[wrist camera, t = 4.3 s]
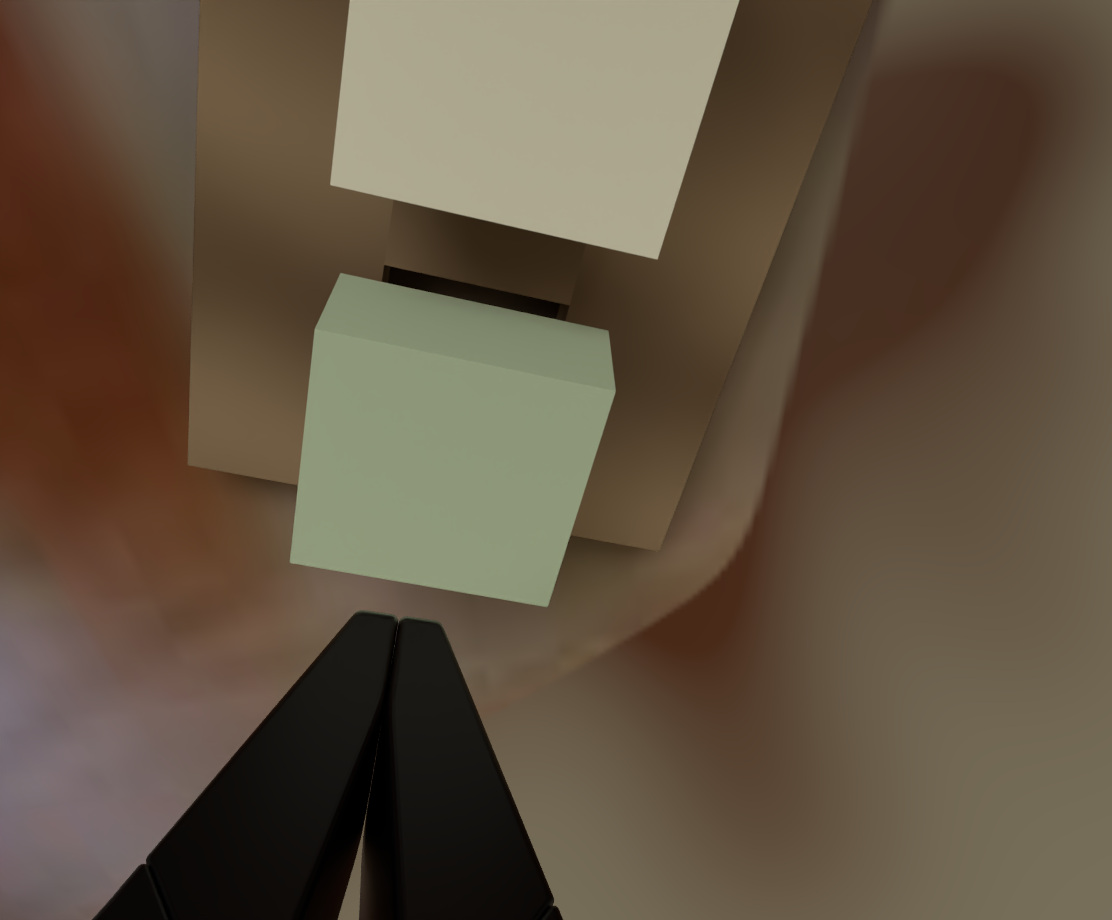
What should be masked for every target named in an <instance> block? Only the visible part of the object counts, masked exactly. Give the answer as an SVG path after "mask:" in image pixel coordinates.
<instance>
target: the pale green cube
mask: <svg viewBox="0 0 1112 920" xmlns="http://www.w3.org/2000/svg"><path fill="white" fill-rule="evenodd" d="M615 392H616V388H615V380H614V372H613V364H612V355H611V347H610V339H609V331H607V330H603V329H598V328H593V327H589V326H584V325H580V324H575V323H570V322H566V321H561V320H556V319H552V318H547V317H542V316H538V315H533V314H528V313H524V312H519V311H515V310H510V309H505V308H501V307H496V306H491V305H487V304H482V303H477V302H473V301H468V300H463V299H459V298H454V297H450V296H445V295H440V294H436V293H431V292H426V291H422V290H417V289H412V288H408V287H403V286H399V285H394V284H389V283H385V282H380V281H375V280H371V279H366V278H361V277H357V276H352V275H347V274H343V273H340V275H339V278H338V280H337V282H336V284H335V286H334V288H333V291H332V293H331V295H330V297H329V299H328V301H327V304H326V306H325V308H324V310H323V312H322V314H321V317H320V319H319V321H318V323H317V325H316V327H315V331H314V341H313V350H312V359H311V369H310V378H309V388H308V397H307V406H306V416H305V425H304V434H303V444H302V453H301V463H300V472H299V481H298V491H297V500H296V509H295V519H294V528H293V538H292V547H291V556H290V563H294V564H300V565H306V566H312V567H317V568H323V569H329V570H335V571H341V572H346V573H352V574H358V575H364V576H370V577H375V578H381V579H387V580H393V581H399V582H404V583H410V584H416V585H422V586H428V587H433V588H439V589H445V590H451V591H457V592H462V593H468V594H474V595H480V596H486V597H491V598H497V599H503V600H509V601H515V602H520V603H526V604H532V605H538V606H544V607H548V604H549V601H550V598H551V595H552V592H553V589H554V585H555V582H556V579H557V576H558V573H559V570H560V566H561V563H562V560H563V557H564V554H565V551H566V547H567V544H568V541H569V538H570V535H571V532H572V528H573V525H574V522H575V519H576V516H577V513H578V509H579V506H580V503H581V500H582V497H583V494H584V490H585V487H586V484H587V481H588V478H589V475H590V471H591V468H592V465H593V462H594V459H595V456H596V452H597V449H598V446H599V443H600V440H601V437H602V433H603V430H604V427H605V424H606V421H607V418H608V414H609V411H610V408H611V405H612V402H613V399H614V395H615Z"/></svg>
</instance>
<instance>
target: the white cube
mask: <svg viewBox="0 0 1112 920" xmlns="http://www.w3.org/2000/svg"><path fill="white" fill-rule="evenodd" d="M738 3H739V0H350V3H349V12H348V22H347V31H346V41H345V50H344V59H343V69H342V78H341V87H340V97H339V106H338V116H337V125H336V134H335V144H334V153H333V162H332V172H331V181H330V185H332V186H337V187H341V188H345V189H350V190H354V191H359V192H363V193H367V194H372V195H376V196H381V197H385V198H389V199H394V200H398V201H403V202H407V203H411V204H416V205H420V206H424V207H429V208H433V209H438V210H442V211H446V212H451V213H455V214H460V215H464V216H468V217H473V218H477V219H482V220H486V221H490V222H495V223H499V224H503V225H508V226H512V227H517V228H521V229H525V230H530V231H534V232H539V233H543V234H547V235H552V236H556V237H561V238H565V239H569V240H574V241H578V242H582V243H587V244H591V245H596V246H600V247H604V248H609V249H613V250H618V251H622V252H626V253H631V254H635V255H640V256H644V257H648V258H653V259H658V256H659V253H660V250H661V247H662V244H663V240H664V237H665V234H666V231H667V228H668V225H669V221H670V218H671V215H672V212H673V209H674V206H675V202H676V199H677V196H678V193H679V190H680V187H681V183H682V180H683V177H684V174H685V171H686V168H687V164H688V161H689V158H690V155H691V152H692V149H693V145H694V142H695V139H696V136H697V133H698V130H699V126H700V123H701V120H702V117H703V114H704V111H705V107H706V104H707V101H708V98H709V95H710V92H711V88H712V85H713V82H714V79H715V76H716V73H717V69H718V66H719V63H720V60H721V57H722V54H723V50H724V47H725V44H726V41H727V38H728V35H729V31H730V28H731V25H732V22H733V19H734V16H735V12H736V9H737V6H738Z"/></svg>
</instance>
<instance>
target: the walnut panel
mask: <svg viewBox="0 0 1112 920" xmlns="http://www.w3.org/2000/svg"><path fill="white" fill-rule="evenodd" d="M872 2H873V0H739V3H738V6H737V9H736V12H735V16H734V19H733V22H732V25H731V28H730V31H729V35H728V38H727V41H726V44H725V47H724V50H723V54H722V57H721V60H720V63H719V66H718V69H717V73H716V76H715V79H714V82H713V85H712V88H711V92H710V95H709V98H708V101H707V104H706V107H705V111H704V114H703V117H702V120H701V123H700V126H699V130H698V133H697V136H696V139H695V142H694V145H693V149H692V152H691V155H690V158H689V161H688V164H687V168H686V171H685V174H684V177H683V180H682V183H681V187H680V190H679V193H678V196H677V199H676V202H675V206H674V209H673V212H672V215H671V218H670V221H669V225H668V228H667V231H666V234H665V237H664V240H663V244H662V247H661V250H660V253H659V256H658V259H653V258H648V257H644V256H640V255H635V254H631V253H626V252H622V251H618V250H613V249H609V248H604V247H600V246H596V245H591V244H587V243H582V242H578V241H574V240H569V239H565V238H561V237H556V236H552V235H547V234H543V233H539V232H534V231H530V230H525V229H521V228H517V227H512V226H508V225H503V224H499V223H495V222H490V221H486V220H482V219H477V218H473V217H468V216H464V215H460V214H455V213H451V212H446V211H442V210H438V209H433V208H429V207H424V206H420V205H416V204H411V203H407V202H403V201H398V200H394V199H389V198H385V197H381V196H376V195H372V194H367V193H363V192H359V191H354V190H350V189H345V188H341V187H337V186H332V185H330V181H331V172H332V162H333V153H334V144H335V134H336V125H337V116H338V106H339V97H340V87H341V78H342V69H343V59H344V50H345V41H346V31H347V22H348V12H349V3H350V0H200V15H199V54H198V92H197V130H196V169H195V207H194V245H193V283H192V322H191V360H190V398H189V437H188V465H190V466H195V467H201V468H206V469H212V470H217V471H223V472H228V473H234V474H239V475H244V476H250V477H255V478H261V479H266V480H272V481H277V482H283V483H288V484H293V485H298V481H299V472H300V463H301V453H302V444H303V434H304V425H305V416H306V406H307V397H308V388H309V378H310V369H311V359H312V350H313V341H314V331H315V327H316V325H317V323H318V321H319V319H320V317H321V314H322V312H323V310H324V308H325V306H326V304H327V301H328V299H329V297H330V295H331V293H332V291H333V288H334V286H335V284H336V282H337V280H338V278H339V275H340V273H343V274H347V275H352V276H357V277H361V278H366V279H371V280H375V281H380V282H385V283H388V281H389V274H390V267H396V268H401V269H405V270H410V271H414V272H419V273H423V274H428V275H433V276H437V277H442V278H446V279H451V280H456V281H460V282H465V283H469V284H474V285H479V286H483V287H488V288H492V289H497V290H501V291H506V292H511V293H515V294H520V295H524V296H529V297H534V298H538V299H543V300H547V301H552V302H556V303H560V306H559V310H558V313H557V317H556V320H561V321H566V322H570V323H575V324H580V325H584V326H589V327H593V328H598V329H603V330H607V331H609V339H610V347H611V355H612V364H613V372H614V380H615V388H616V392H615V395H614V399H613V402H612V405H611V408H610V411H609V414H608V418H607V421H606V424H605V427H604V430H603V433H602V437H601V440H600V443H599V446H598V449H597V452H596V456H595V459H594V462H593V465H592V468H591V471H590V475H589V478H588V481H587V484H586V487H585V490H584V494H583V497H582V500H581V503H580V506H579V509H578V513H577V516H576V519H575V522H574V525H573V528H572V532H571V536H577V537H582V538H587V539H593V540H598V541H604V542H609V543H615V544H620V545H626V546H631V547H636V548H642V549H647V550H653V551H658V552H659V551H660V548H661V546H662V543H663V541H664V538H665V535H666V533H667V530H668V528H669V525H670V523H671V520H672V517H673V515H674V512H675V510H676V507H677V504H678V502H679V499H680V497H681V494H682V492H683V489H684V486H685V484H686V481H687V479H688V476H689V474H690V471H691V468H692V466H693V463H694V461H695V458H696V455H697V453H698V450H699V448H700V445H701V443H702V440H703V437H704V435H705V432H706V430H707V427H708V425H709V422H710V419H711V417H712V414H713V412H714V409H715V406H716V404H717V401H718V399H719V396H720V394H721V391H722V388H723V386H724V383H725V381H726V378H727V376H728V373H729V370H730V368H731V365H732V363H733V360H734V357H735V355H736V352H737V350H738V347H739V345H740V342H741V339H742V337H743V334H744V332H745V329H746V327H747V324H748V321H749V319H750V316H751V314H752V311H753V308H754V306H755V303H756V301H757V298H758V296H759V293H760V290H761V288H762V285H763V283H764V280H765V278H766V275H767V272H768V270H769V267H770V265H771V262H772V259H773V257H774V254H775V252H776V249H777V247H778V244H779V241H780V239H781V236H782V234H783V231H784V229H785V226H786V223H787V221H788V218H789V216H790V213H791V210H792V208H793V205H794V203H795V200H796V198H797V195H798V192H799V190H800V187H801V185H802V182H803V180H804V177H805V174H806V172H807V169H808V167H809V164H810V161H811V159H812V156H813V154H814V151H815V149H816V146H817V143H818V141H819V138H820V136H821V133H822V131H823V128H824V125H825V123H826V120H827V118H828V115H829V112H830V110H831V107H832V105H833V102H834V100H835V97H836V94H837V92H838V89H839V87H840V84H841V82H842V79H843V76H844V74H845V71H846V69H847V66H848V63H849V61H850V58H851V56H852V53H853V51H854V48H855V45H856V43H857V40H858V38H859V35H860V33H861V30H862V27H863V25H864V22H865V20H866V17H867V14H868V12H869V9H870V7H871V4H872Z"/></svg>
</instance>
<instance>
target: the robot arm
mask: <svg viewBox="0 0 1112 920" xmlns="http://www.w3.org/2000/svg"><path fill="white" fill-rule="evenodd" d="M397 626H398V629H397ZM396 632H397V635H396ZM395 639H396V641H395ZM394 645H395V647H394ZM393 651H394V652H393ZM392 657H393V658H392ZM391 663H392V664H391ZM390 669H391V670H390ZM389 675H390V676H389ZM388 681H389V682H388ZM379 734H380V735H379ZM378 740H379V741H378ZM377 746H378V747H377ZM376 752H377V753H376ZM375 758H376V759H375ZM374 763H375V765H374ZM373 769H374V771H373ZM372 775H373V777H372ZM371 781H372V783H371ZM370 787H371V789H370ZM369 793H370V795H369ZM368 798H369V801H368ZM367 804H368V808H367ZM366 810H367V813H366ZM365 815H366V821H365V828H364V836H363V849H362V863H361V888H360V911H359V920H563V919H562V916H561V914H560V911H559V909H558V907H556V906H553V903H554V898H553V895H552V893H551V890H550V888H549V885H548V883H547V880H546V878H545V875H544V873H543V871H542V868H541V866H540V863H539V861H538V858H537V856H536V853H535V851H534V848H533V846H532V844H531V841H530V839H529V836H528V834H527V831H526V829H525V826H524V824H523V821H522V819H521V817H520V814H519V812H518V809H517V807H516V804H515V802H514V800H513V797H512V794H511V792H510V790H509V787H508V785H507V782H506V780H505V777H504V775H503V772H502V770H501V768H500V765H499V763H498V760H497V758H496V755H495V753H494V750H493V748H492V745H491V743H490V741H489V738H488V736H487V733H486V731H485V728H484V726H483V723H482V721H481V718H480V716H479V714H478V711H477V709H476V706H475V704H474V701H473V699H472V696H471V694H470V692H469V689H468V687H467V684H466V682H465V679H464V677H463V674H462V672H461V669H460V667H459V665H458V662H457V660H456V657H455V655H454V652H453V650H452V647H451V645H450V642H449V640H448V638H447V635H446V633H445V630H444V628H443V626H442V625H441V624H440V623H439V622H438V621H435V620H428V619H421V618H414V617H403V618H401V620H400V621H399V623H398V619H397V617H396V616H395V615H392V614H386V613H379V612H372V611H364V610H361V611H358V612H356V613H355V614H354V615H353V616H352V617H351V618H350V619H349V620H348V622H347V623H346V624H345V625H344V626H343V627H342V629H341V630H340V631H339V632H338V633H337V634H336V636H335V637H334V638H333V639H332V640H331V642H330V643H329V644H328V645H327V646H326V647H325V649H324V650H323V651H322V652H321V653H320V654H319V656H318V657H317V658H316V659H315V660H314V661H313V663H312V664H311V665H310V666H309V667H308V669H307V670H306V671H305V672H304V673H303V674H302V676H301V677H300V678H299V679H298V680H297V681H296V683H295V684H294V685H293V686H292V687H291V688H290V690H289V691H288V692H287V693H286V694H285V696H284V697H283V698H282V699H281V700H280V701H279V703H278V704H277V705H276V706H275V707H274V708H273V710H272V711H271V712H270V713H269V714H268V715H267V717H266V718H265V719H264V720H263V721H262V723H261V724H260V725H259V726H258V727H257V728H256V730H255V731H254V732H253V733H252V734H251V735H250V737H249V738H248V739H247V740H246V741H245V742H244V744H243V745H242V746H241V747H240V748H239V750H238V751H237V752H236V753H235V754H234V755H233V757H232V758H231V759H230V760H229V761H228V762H227V764H226V765H225V766H224V767H223V768H222V769H221V771H220V772H219V773H218V774H217V775H216V777H215V778H214V779H213V780H212V781H211V782H210V784H209V785H208V786H207V787H206V788H205V789H204V791H203V792H202V793H201V794H200V795H199V796H198V798H197V799H196V800H195V801H194V802H193V804H192V805H191V806H190V807H189V808H188V809H187V811H186V812H185V813H184V814H183V815H182V816H181V818H180V819H179V820H178V821H177V822H176V823H175V825H174V826H173V827H172V828H171V829H170V831H169V832H168V833H167V834H166V835H165V836H164V838H163V839H162V840H161V841H160V842H159V843H158V845H157V846H156V847H155V848H154V849H153V850H152V852H151V853H150V854H149V855H148V856H147V859H146V864H141V865H139V866H138V867H137V869H136V870H135V871H134V872H133V873H132V874H131V876H130V877H129V878H128V879H127V880H126V882H125V883H124V884H123V885H122V886H121V887H120V889H119V890H118V891H117V892H116V893H115V894H114V896H113V897H112V898H111V899H110V900H109V901H108V903H107V904H106V905H105V906H104V907H103V908H102V909H101V910H100V911H99V912H98V914H97V915H96V916H95V917H94V918H93V919H92V920H338V916H339V913H340V909H341V906H342V902H343V899H344V896H345V892H346V889H347V886H348V882H349V879H350V875H351V872H352V869H353V865H354V862H355V858H356V855H357V851H358V847H359V843H360V840H361V835H362V830H363V825H364V820H365Z"/></svg>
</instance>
